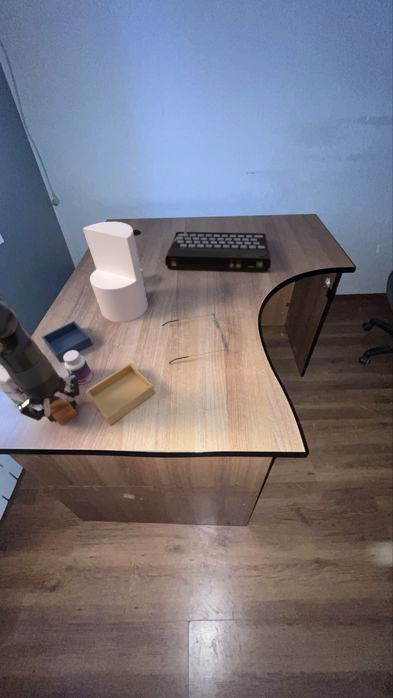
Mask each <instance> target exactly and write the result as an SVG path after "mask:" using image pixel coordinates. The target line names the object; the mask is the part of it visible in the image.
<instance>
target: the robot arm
mask: <svg viewBox="0 0 393 698" xmlns="http://www.w3.org/2000/svg"><path fill="white" fill-rule="evenodd" d="M0 366H3V367H4V369H5V370H6V371H7V373H8V374H9V376H10V377H11V379H12V380H13V381H14V383H15V384H16V385H18V386H19V388H20V389H21V390H22V391H23V392H24V393H25V394H26V395H27V399H28V400H27V401H26V402H25V403H24V404H23V403H20V404H16V405H17V409H18V410H19V412H20V414H21V415H23V416H26V417H28V418H31V419H32V420H35V421H41V420H42V419H43V418H47V419H48V420H49V422H50V423H58V422H57V420H56V419H55V418H54V417H53V416H52V414H51V412H50V404H52V403H53V402H54V401H56V400H58V399H60V398H61V399H63V400H67V401H69V403H70V404H71V405H72V407H73V408H74V410H75V411H76V410H77V407H78V406H79V404H78V402H77V401H76V399H75V398H76V397H79V396H80V395H81V393H80V384H78V379H77V378H76V376H75V375H74V374H73V373H71V374H69V373H68V377H65V378H63V377H61V376H60V375H59V374H58V372H57V370H56V369H55V368H54V366H53V364H52V362H51V361H50V360H49V358H47V356H46V355H45V354H44V353H43V352H42V350H41V348H39V346H38V345H37V343H36V341H35V340H34V339H33V338H32V337H31V335H30V333H28V332H27V330H26V329H25V328H24V327H23V326H22V324H21V322H20V320H19V319H18V317H17V315H16V312H15V310H14V309H13V307H12V306H11V305H10V303H9V302H8V300H7V299H6V297H5V296H4V295H3V294H2V293H1V292H0ZM67 384H68V385H69V387H70V391H68V390H65V389H66V386H67ZM32 405H34V406H36V405H37V406H40V409H39V410H38V409H36V408H34V407H33V406H32Z"/></svg>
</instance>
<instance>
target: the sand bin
mask: <svg viewBox="0 0 393 698" xmlns="http://www.w3.org/2000/svg"><path fill="white" fill-rule="evenodd" d="M85 393H86V395H87V396H88V398H89V400H90V401H91V402H92V403H93V405H94V406H95V407H96V409H97V410H98V411H99V413H100V414H101V416H102V417H103V418H104V419H105V421H106V422H107V424H108V425H109V426H112V425H113V424H115V423H116V422H117V421H119V420H120V419H122V418H123V417H124V416H125V415H127V414H128V413H130V412H131V411H132V410H134V409H135V408H137V407H138V406H140V405H141V404H142V403H143V402H145V401H146V400H148V399H149V398H150V397H152V396H153V395H155V393H156V391H155V387H154V384H153V383H151V382H150V381H149V380H148V378H146V377H145V375H143V373H142V372H140V371H139V369H138V368H137V367H135V366H134V365H133V364H132V363H131V362H129V363H128V364H126V365H124V366H122V367H121V368H120V369H118V370H116V371H115V372H113V373H112V374H110V375H109V376H107V377H106V378H103V379H102V380H100V381H99V382H97V383H96V384H94V385H92V386H91V387H89V388H88V389H87V390H85Z"/></svg>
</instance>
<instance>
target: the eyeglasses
mask: <svg viewBox="0 0 393 698" xmlns="http://www.w3.org/2000/svg"><path fill="white" fill-rule="evenodd" d="M211 315H212V316H213V321H214V325H215V327H216V328H219V329H220V331H221V342H222V345H223V347H224V351H228V350H229V346H228V341H227V337H226V336H225V334H224V331H223V328H222V325H221V323H219V318H218V316H217V313H216V312H213V313H210V314H209V316H211ZM199 317H202V315H201V316H200V315H199V316H198V318H199ZM203 317H207V314H206V315H203ZM195 318H196V316H194V317H192V319H195ZM189 319H190V317H188V318H186V320H189ZM182 320H185V318H182V319H181V321H182ZM174 322H180V319H174V320H168V321H167V322H165V323H163V324H162V325H161V326H162V327H165V325H167V324H169V323H174ZM222 351H223V349H221V350H219V352H222ZM216 352H218V350H215V351H214V353H216ZM211 353H213V351H209V352H205V353H203V355H206V354H211ZM200 355H201V356H202V353H199V354H198V356H200ZM190 357H192V355H189V356H188V355H187V356H182V357H176V358H173V359H172V360H171V361H169V362H168V364H172V363H173V362H175V361H177V360H182V359H186V358H188V359H189V358H190ZM193 357H197V354H194V355H193Z"/></svg>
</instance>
